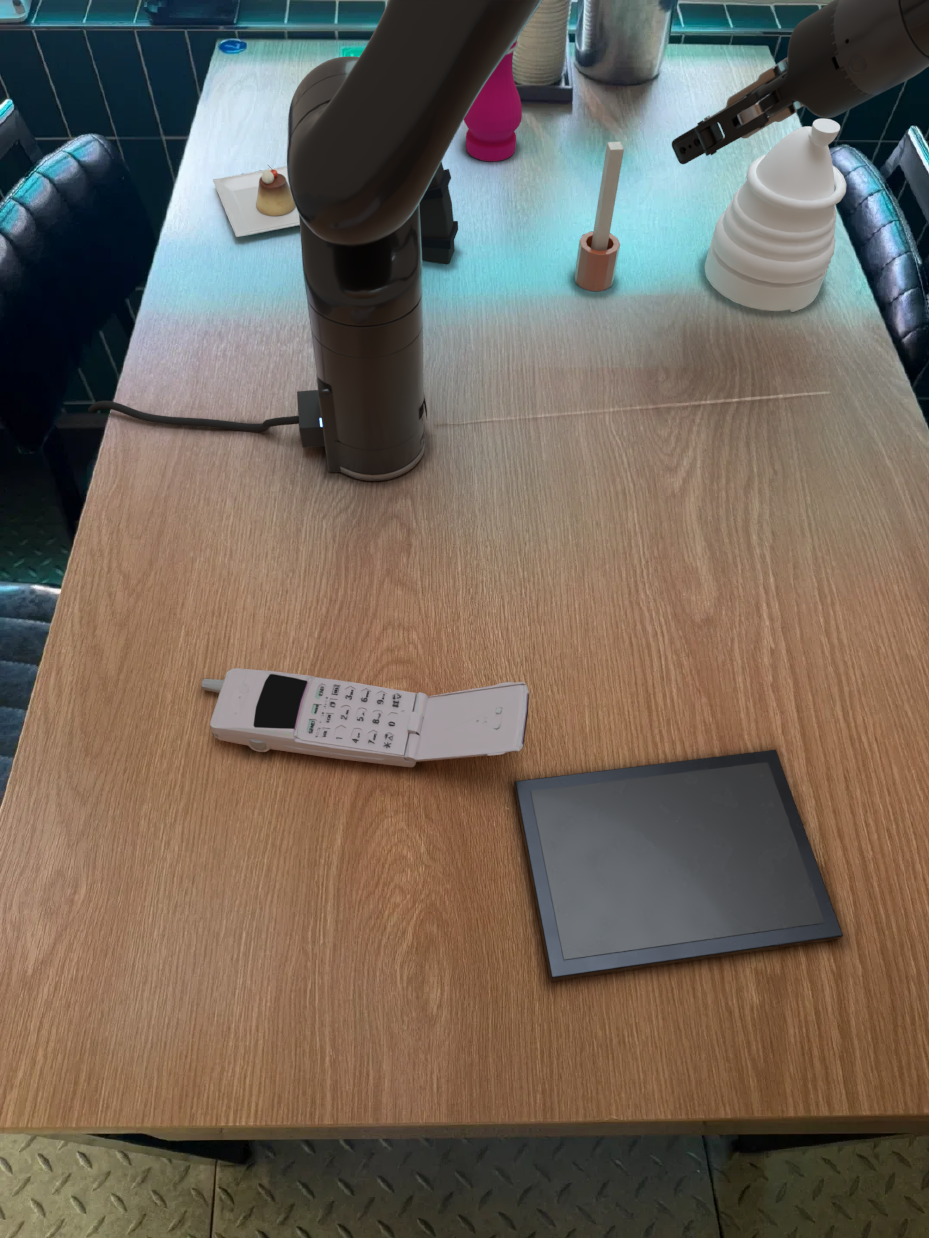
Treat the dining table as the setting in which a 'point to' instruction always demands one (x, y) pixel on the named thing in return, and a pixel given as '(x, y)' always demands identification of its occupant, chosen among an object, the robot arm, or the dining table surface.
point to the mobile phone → (366, 718)
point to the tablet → (670, 864)
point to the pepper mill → (495, 114)
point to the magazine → (437, 220)
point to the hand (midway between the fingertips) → (704, 134)
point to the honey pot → (780, 224)
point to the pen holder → (596, 264)
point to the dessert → (258, 201)
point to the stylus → (607, 195)
